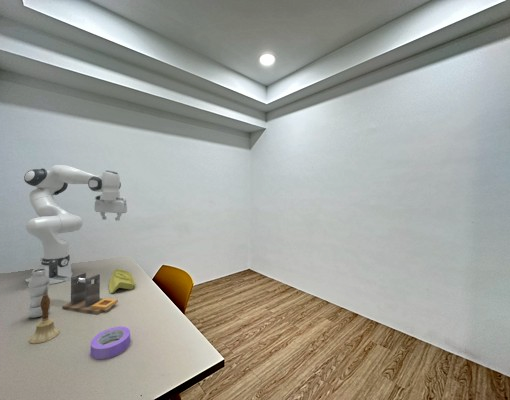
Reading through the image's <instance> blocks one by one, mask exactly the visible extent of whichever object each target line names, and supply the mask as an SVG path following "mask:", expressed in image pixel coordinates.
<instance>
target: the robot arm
mask: <svg viewBox="0 0 510 400" xmlns="http://www.w3.org/2000/svg"><path fill="white" fill-rule="evenodd" d="M23 181H24V183H26V184H27V185H29V186H32V187H34V188H35V189H32V190H31V191H30V193H29V194H28V195H29V201H30V203H31V206H32V208H33V209H34V211H35V213H36V215H37V216H38V217H34V218H30V219H29V220H28V221H27V224H26V225H25V226H26V227H25V229H26V231H27V233H28V234H30V235H31V236H32V237H35V238H37V239H38V240H39V241H40V242H41V244H42V247H43V248H42V249H43V257H42V258H41V259H40V265H38V266H36V267H35V268H34V269H33V270H32V271H31V276H30V277H27V278H26V279H25V281H26V283H28V282H30V280H31V279H32V278H33V277H34V276H33V272H34V271H35V270H38V269H45V272H46V274H45V275H46V276H47V277H48V278H49V261H50V260H58V275H61V276H69V277H72V276H74V272H72V265H71V262H70V260H71V259H70V253H69V252H70V251H69V250H70V248H69V247H70V245H69V242H68V241H66V240H65V239H63V238H62V239H61V238H59V237H58V234H65V233H67V234H68V233H72V232H75V231H79V230H80V229H81V228H82V227H83V224H84V223H83V219H82V218H81V216H80V215H78V214H73V213H71V212H69V211H66V210H65V209H64V208H63V207H61V206H60V204H59V203H58V202H57V200H56V198H55V197H54V196H57V195H60V194H62V193H63V192H65V191H66V190H67V188H68V185H88V188H89V189H90V190H91V191H92V192H98V193H102V194H99V195H96V196H94V200H95V201H94V206H93V207H94V208H93V209H94V212H96V213H99V214H100V216H101V220H102V221H103V220H105V221H106V220H107V216H106V215H105V214H106V213H107V214H108V213H110V214H112V213H113V214H116V217H115V218H114V219H115V221H120V219H121V216H122V214H126V213H127V212H128V205H127V200H126V198H124V197H120V196H121V194H120V189H121V187H122V183H121V181H120V175H119V173H118V172H117V171H111V170H103V171H102V173H100V174H98V175H96V174H93V173H91V172H87V171H84V170H82V169H79V168H76V167H74V166H70V165H67V164H66V165H65V164H55V165H53V166H52V167H51V168H50V169H49V170H47V169H45V168H34V169H30V170H28V171H27V172H26V173H25V174H24V177H23ZM49 280H50V283H49V285H53V284H57V283H62V282H66V281H65V280H57V279H51V278H49ZM25 281H24V282H25Z"/></svg>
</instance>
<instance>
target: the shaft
mask: <svg viewBox="0 0 510 400" xmlns="http://www.w3.org/2000/svg"><path fill="white" fill-rule="evenodd" d="M49 278H51V279H57V280H65V281H64V282H71V277H69V276H61V275H58V260H50V261H49ZM86 278H87V277H86ZM86 278H80V277H79V278H77V283H78V282H80V283H85V279H86Z"/></svg>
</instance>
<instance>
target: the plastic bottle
mask: <svg viewBox="0 0 510 400" xmlns="http://www.w3.org/2000/svg"><path fill="white" fill-rule="evenodd" d="M45 274H46V272H45V269H38V270H35V271H34V272H33V276H34V277H33V278H32V279H31V280H30V282H29V283H27V285H28V291H29V296H30V303H29V308H28V312H27V313H28V316H29V318H32V319H36V318H42V310H41V306H40V303H41V299H42V297H43V295H44V294H48V295H49V288H50V284H49V283H50V280H49V278H48V277H47V276H46V275H45ZM50 309H51V305H50V306H49V309H48V313H49V312H50Z"/></svg>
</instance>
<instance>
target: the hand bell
mask: <svg viewBox="0 0 510 400" xmlns="http://www.w3.org/2000/svg"><path fill="white" fill-rule="evenodd" d="M40 306H41V310H42V316H41V321H39V322H38V323H37V324H36V329H35V332H34V334H33V335H31V337H30V338H29V339H28V343H29V344H32V345H33V344H34V345H35V344H36V345H37V344H42V343H45V342H48V341H50V340H53V339H54V338H56V337H57V336H58V335H59V334H60V332H61V330H60V329H59V328H58V327H56V326H55V324H54V323H55V322H54V319H51V318H49V312H48V309H49V306H50V307H51V299H50V297H49V293H48V294H44V295H43V297H42V299H41V303H40Z"/></svg>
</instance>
